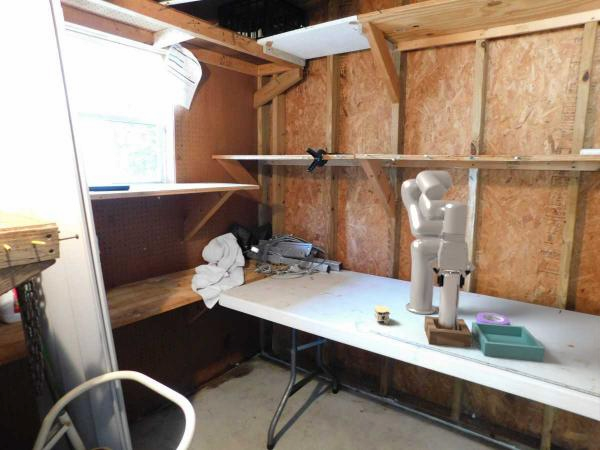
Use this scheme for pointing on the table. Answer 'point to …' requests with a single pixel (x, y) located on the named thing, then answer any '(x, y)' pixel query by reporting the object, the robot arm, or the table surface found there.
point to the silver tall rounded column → (449, 300)
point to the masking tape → (492, 319)
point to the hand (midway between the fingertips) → (450, 286)
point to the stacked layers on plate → (382, 314)
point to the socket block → (447, 333)
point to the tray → (507, 341)
